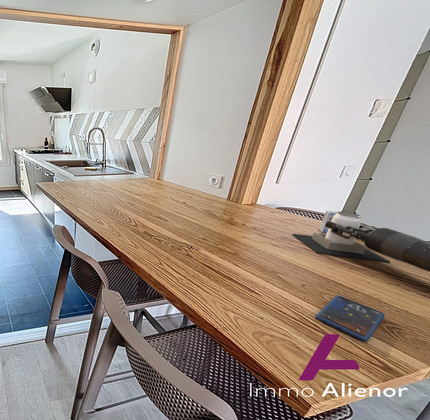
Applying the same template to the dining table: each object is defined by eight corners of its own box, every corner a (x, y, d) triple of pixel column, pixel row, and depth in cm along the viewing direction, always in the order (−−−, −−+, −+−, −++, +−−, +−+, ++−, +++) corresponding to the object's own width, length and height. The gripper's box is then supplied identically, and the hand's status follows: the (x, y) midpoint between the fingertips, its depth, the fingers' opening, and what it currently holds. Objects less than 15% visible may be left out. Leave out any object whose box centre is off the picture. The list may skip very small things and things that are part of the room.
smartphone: (315, 315, 54) (337, 294, 61) (313, 318, 54) (336, 296, 61) (368, 340, 47) (386, 313, 54) (366, 343, 48) (384, 316, 55)
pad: (351, 241, 91) (355, 234, 90) (389, 263, 77) (394, 254, 76) (291, 234, 97) (294, 227, 96) (316, 253, 83) (320, 244, 82)
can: (351, 252, 82) (366, 218, 78) (323, 246, 86) (336, 214, 83) (348, 245, 87) (361, 214, 83) (322, 240, 91) (334, 210, 87)
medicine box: (321, 232, 99) (329, 212, 96) (318, 229, 103) (326, 209, 100) (350, 237, 95) (359, 216, 92) (345, 233, 98) (354, 213, 95)
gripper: (429, 234, 69) (363, 214, 85) (375, 232, 70) (319, 213, 86) (416, 257, 71) (354, 234, 87) (364, 255, 72) (312, 232, 88)
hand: (337, 224), depth 86 cm, fingers closed on can, 6 cm apart
